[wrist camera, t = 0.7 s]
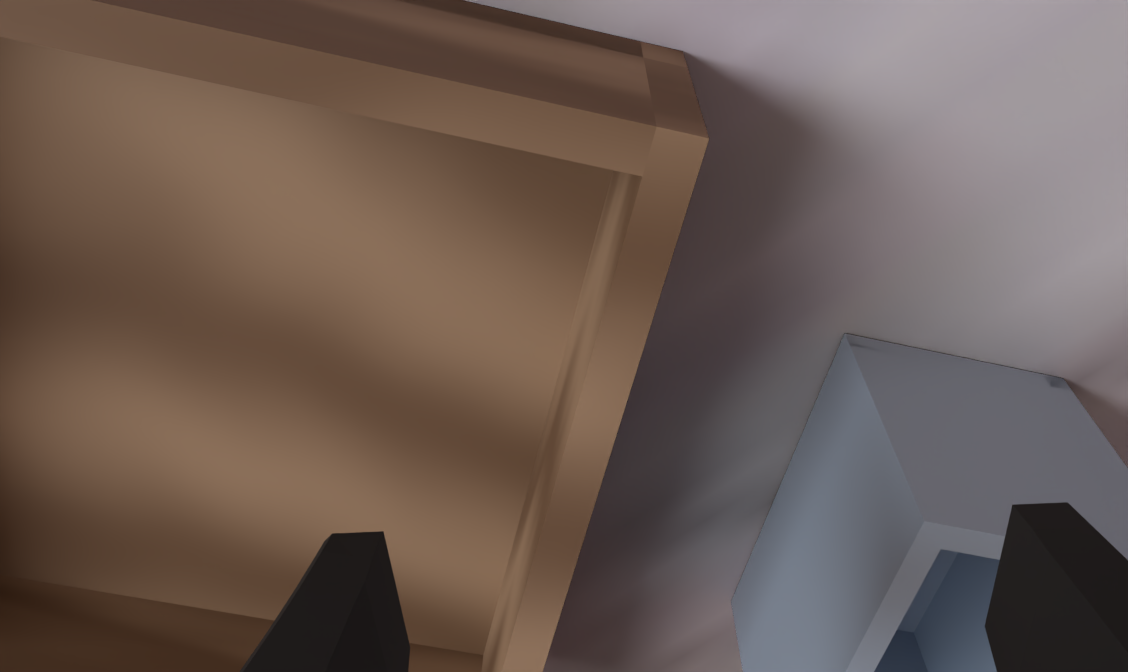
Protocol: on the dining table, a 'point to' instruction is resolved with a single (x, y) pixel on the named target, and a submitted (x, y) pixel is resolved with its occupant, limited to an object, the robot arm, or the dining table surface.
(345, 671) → the robot arm
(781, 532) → the box
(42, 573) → the big crate
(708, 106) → the dining table surface
